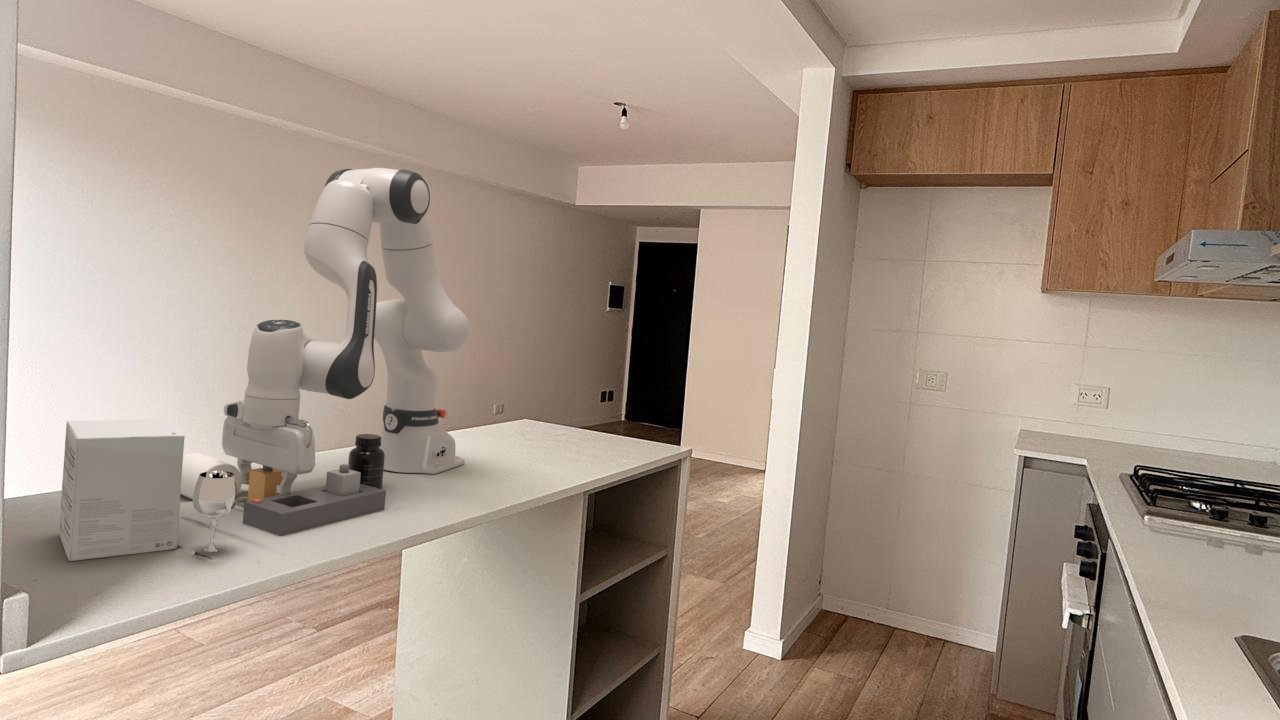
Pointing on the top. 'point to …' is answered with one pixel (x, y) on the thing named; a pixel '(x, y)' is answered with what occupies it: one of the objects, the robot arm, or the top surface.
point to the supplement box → (120, 488)
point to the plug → (263, 482)
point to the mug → (200, 464)
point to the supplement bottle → (368, 460)
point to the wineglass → (214, 499)
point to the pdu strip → (310, 509)
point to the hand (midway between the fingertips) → (264, 489)
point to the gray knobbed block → (343, 481)
